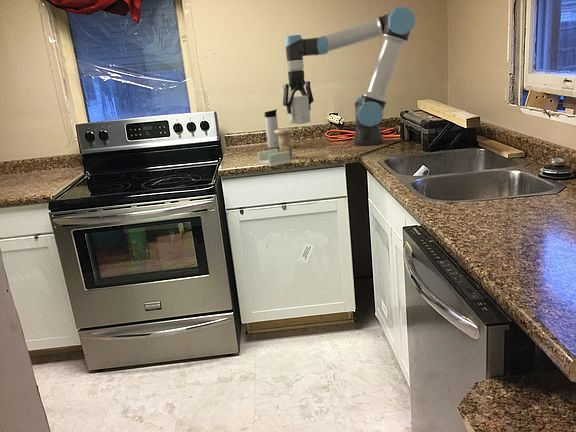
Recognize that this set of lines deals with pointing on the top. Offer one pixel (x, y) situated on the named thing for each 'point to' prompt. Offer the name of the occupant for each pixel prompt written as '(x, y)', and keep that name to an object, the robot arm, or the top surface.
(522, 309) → the top surface
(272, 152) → the green and white block
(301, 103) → the supplement box
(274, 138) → the travel mug
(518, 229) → the top surface
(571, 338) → the top surface
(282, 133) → the spool
